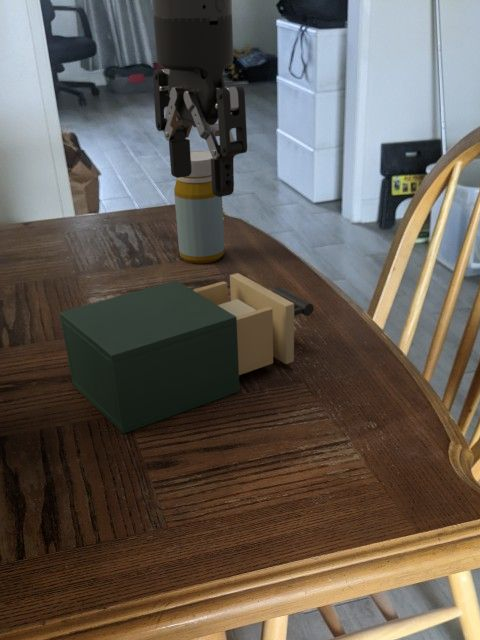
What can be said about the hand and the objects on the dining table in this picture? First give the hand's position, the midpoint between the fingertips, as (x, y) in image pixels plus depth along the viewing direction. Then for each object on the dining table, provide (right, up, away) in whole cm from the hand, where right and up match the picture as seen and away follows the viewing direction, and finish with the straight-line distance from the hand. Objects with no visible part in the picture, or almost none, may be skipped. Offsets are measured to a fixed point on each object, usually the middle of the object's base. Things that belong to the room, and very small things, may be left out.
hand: (201, 185), depth 84 cm
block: (+3, -16, +9) cm, 18 cm away
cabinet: (-6, -21, +5) cm, 23 cm away
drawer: (+3, -17, +9) cm, 19 cm away
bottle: (-3, +3, +38) cm, 38 cm away
